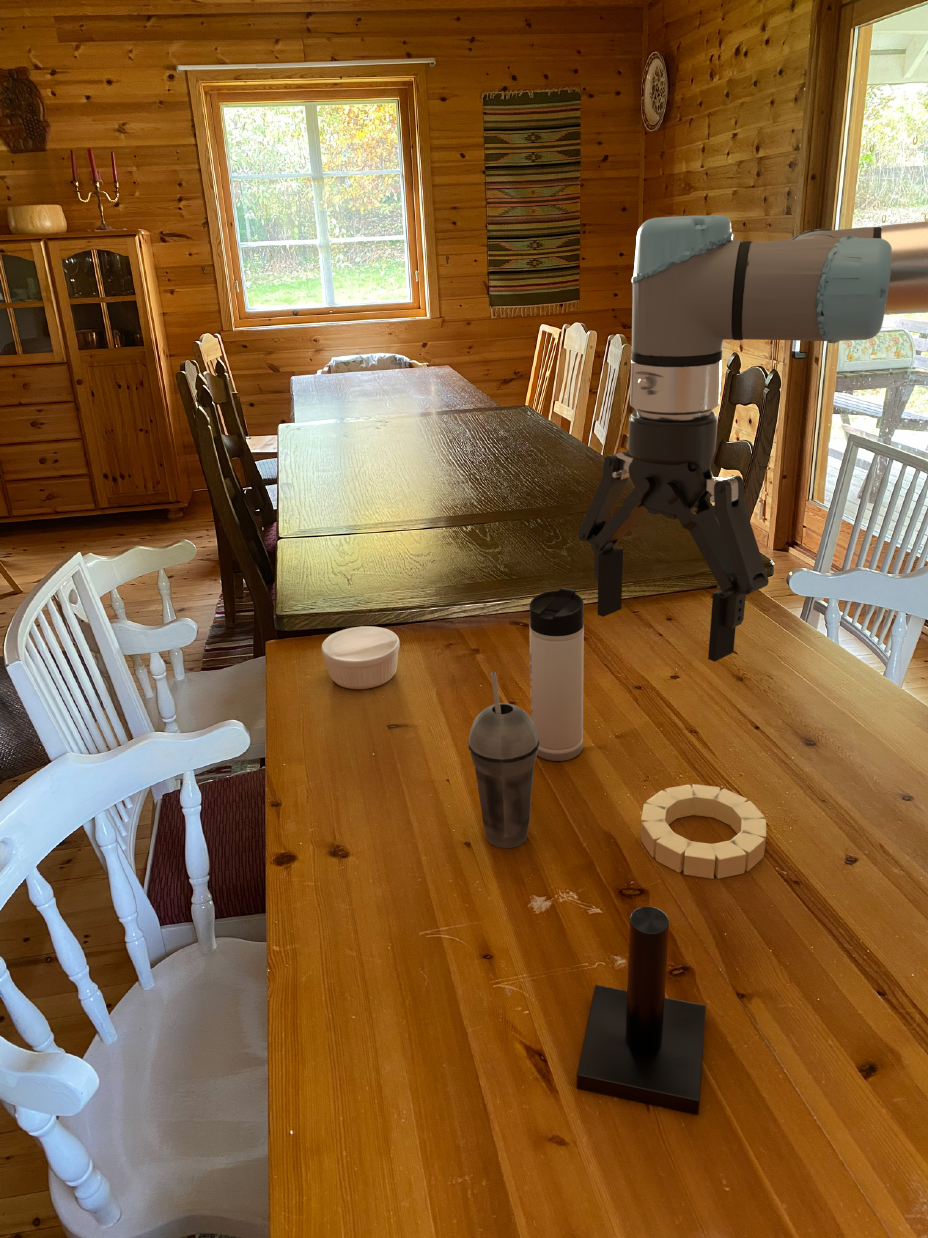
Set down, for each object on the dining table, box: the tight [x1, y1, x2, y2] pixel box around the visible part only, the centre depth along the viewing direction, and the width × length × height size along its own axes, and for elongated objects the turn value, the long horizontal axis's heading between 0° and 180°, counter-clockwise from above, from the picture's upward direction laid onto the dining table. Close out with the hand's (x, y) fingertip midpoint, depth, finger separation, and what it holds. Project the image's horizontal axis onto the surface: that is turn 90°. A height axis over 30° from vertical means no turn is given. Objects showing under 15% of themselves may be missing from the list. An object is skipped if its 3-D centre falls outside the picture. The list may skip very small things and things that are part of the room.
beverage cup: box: [467, 671, 540, 849], centre depth 93 cm, size 7×7×20 cm
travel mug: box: [528, 587, 585, 762], centre depth 108 cm, size 6×7×20 cm
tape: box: [640, 783, 767, 880], centre depth 95 cm, size 12×12×2 cm
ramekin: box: [321, 625, 401, 690], centre depth 131 cm, size 11×11×5 cm
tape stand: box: [576, 906, 707, 1115], centre depth 69 cm, size 9×9×14 cm
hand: (662, 633), depth 88 cm, fingers open, 13 cm apart
